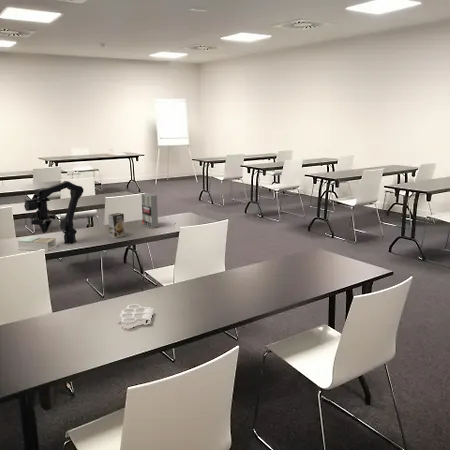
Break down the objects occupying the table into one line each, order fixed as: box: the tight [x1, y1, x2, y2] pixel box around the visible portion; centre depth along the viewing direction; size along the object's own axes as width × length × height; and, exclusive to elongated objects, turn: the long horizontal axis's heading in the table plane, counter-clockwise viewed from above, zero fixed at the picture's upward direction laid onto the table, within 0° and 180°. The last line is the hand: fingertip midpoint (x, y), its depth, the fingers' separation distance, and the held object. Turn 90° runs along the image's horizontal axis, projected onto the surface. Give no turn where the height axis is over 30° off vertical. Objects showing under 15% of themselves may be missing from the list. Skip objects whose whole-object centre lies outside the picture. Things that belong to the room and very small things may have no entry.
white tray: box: [17, 238, 58, 252], centre depth 285 cm, size 20×12×5 cm, turn 80°
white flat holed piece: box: [119, 303, 155, 325], centre depth 184 cm, size 3×18×15 cm
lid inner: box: [33, 236, 57, 243], centre depth 283 cm, size 9×10×1 cm
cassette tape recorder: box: [140, 192, 159, 229], centre depth 339 cm, size 14×6×25 cm, turn 42°
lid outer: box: [17, 236, 42, 243], centre depth 285 cm, size 9×10×1 cm
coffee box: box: [107, 212, 126, 239], centre depth 311 cm, size 9×6×16 cm
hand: (44, 232), depth 283 cm, fingers closed
